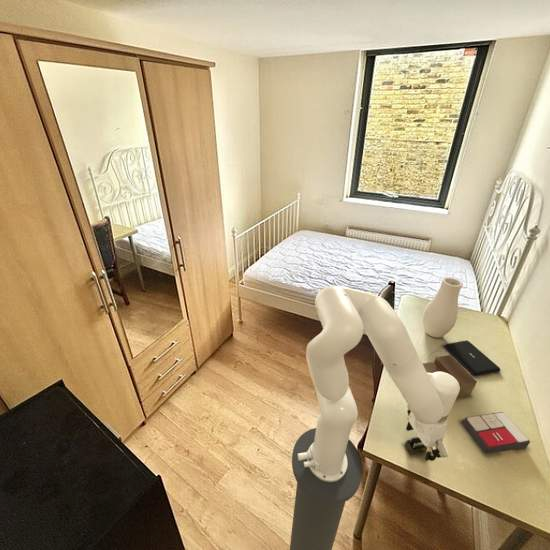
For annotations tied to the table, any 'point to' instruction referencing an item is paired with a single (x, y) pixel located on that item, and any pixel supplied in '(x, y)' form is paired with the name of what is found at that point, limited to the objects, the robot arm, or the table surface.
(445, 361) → the wooden stair steps
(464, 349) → the laptop
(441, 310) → the vase
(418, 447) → the clip
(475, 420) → the red grey flat block
